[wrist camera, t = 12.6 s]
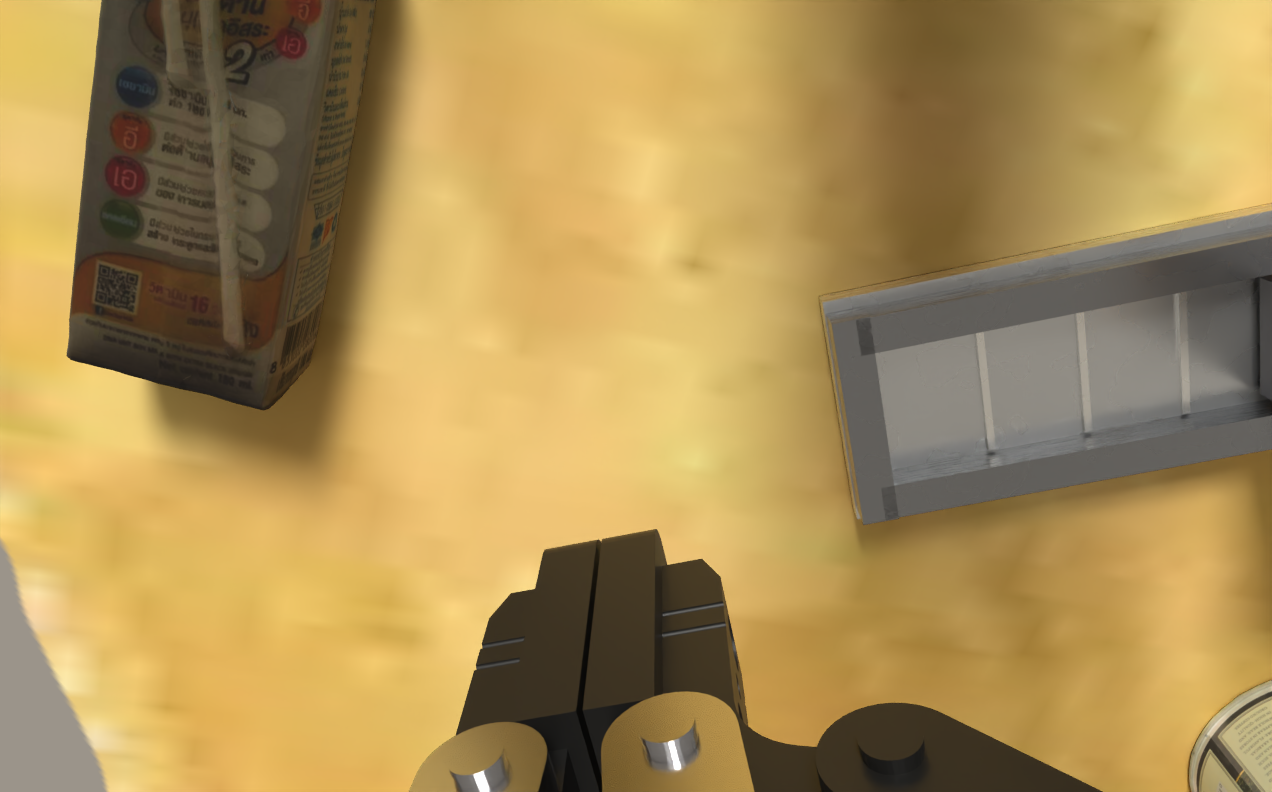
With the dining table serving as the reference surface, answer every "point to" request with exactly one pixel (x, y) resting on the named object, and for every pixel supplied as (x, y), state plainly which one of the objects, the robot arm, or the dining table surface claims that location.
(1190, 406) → the fader console
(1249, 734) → the coffee can
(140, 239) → the beverage carton
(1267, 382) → the fader tab
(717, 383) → the dining table surface
